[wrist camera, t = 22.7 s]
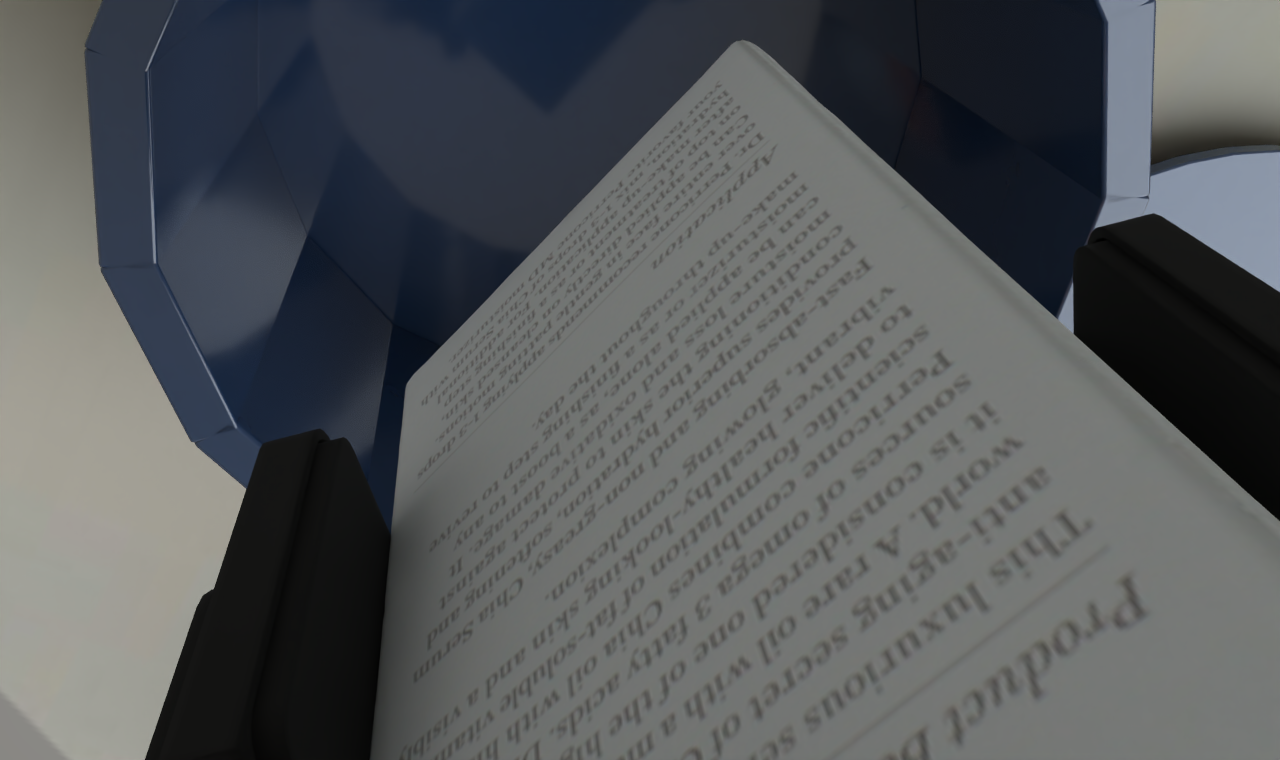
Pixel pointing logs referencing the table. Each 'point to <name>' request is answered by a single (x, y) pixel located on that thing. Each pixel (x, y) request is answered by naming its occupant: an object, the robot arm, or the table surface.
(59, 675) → the table surface
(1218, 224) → the pot lid
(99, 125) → the pot
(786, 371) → the cosmetic box
